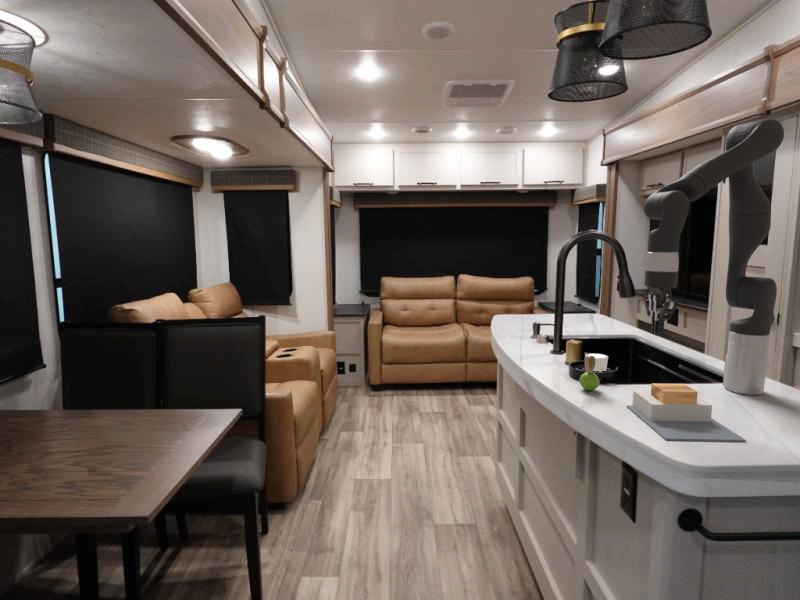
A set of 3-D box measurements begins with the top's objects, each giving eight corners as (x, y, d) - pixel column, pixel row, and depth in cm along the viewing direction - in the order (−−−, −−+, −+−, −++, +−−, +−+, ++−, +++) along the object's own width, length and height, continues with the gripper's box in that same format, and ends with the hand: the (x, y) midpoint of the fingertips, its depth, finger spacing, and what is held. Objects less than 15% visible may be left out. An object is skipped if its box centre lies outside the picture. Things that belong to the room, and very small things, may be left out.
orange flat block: (650, 394, 116) (651, 383, 116) (683, 395, 115) (683, 383, 115) (662, 403, 110) (663, 391, 110) (696, 403, 109) (697, 391, 109)
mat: (626, 406, 120) (626, 405, 120) (693, 407, 119) (693, 406, 119) (665, 440, 100) (665, 438, 100) (745, 441, 99) (745, 440, 99)
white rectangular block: (632, 407, 120) (633, 390, 119) (687, 407, 119) (688, 391, 118) (650, 422, 110) (651, 404, 109) (710, 423, 109) (712, 405, 108)
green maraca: (575, 391, 133) (576, 351, 131) (583, 385, 137) (585, 347, 136) (593, 395, 129) (595, 354, 127) (601, 389, 134) (603, 350, 132)
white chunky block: (580, 373, 150) (581, 353, 149) (600, 373, 150) (601, 352, 149) (590, 380, 143) (591, 358, 142) (611, 379, 143) (612, 357, 142)
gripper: (691, 271, 111) (685, 339, 114) (663, 267, 125) (658, 329, 127) (659, 271, 112) (655, 339, 114) (635, 267, 125) (631, 329, 128)
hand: (657, 333), depth 121 cm, fingers closed
